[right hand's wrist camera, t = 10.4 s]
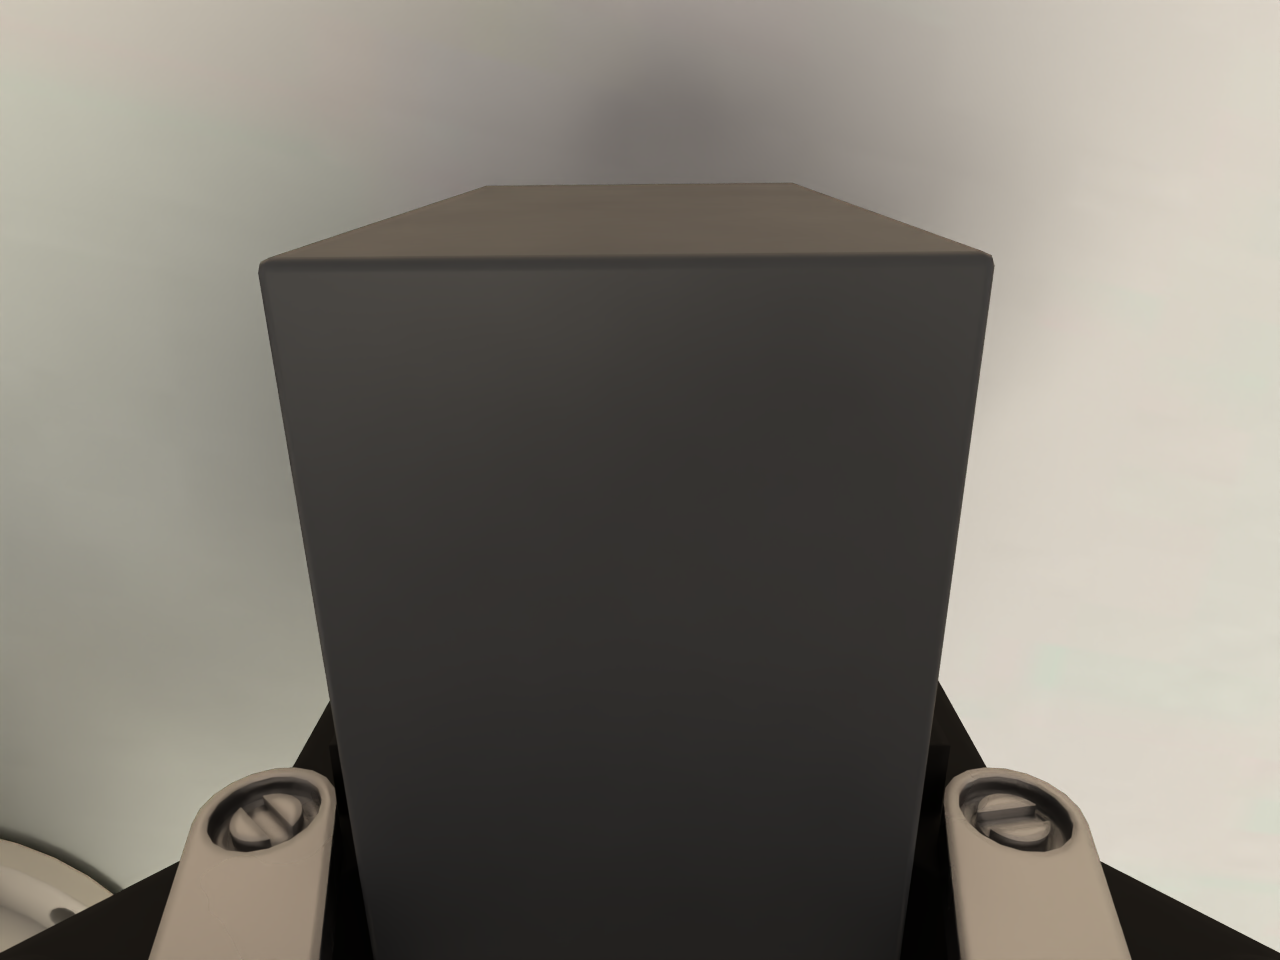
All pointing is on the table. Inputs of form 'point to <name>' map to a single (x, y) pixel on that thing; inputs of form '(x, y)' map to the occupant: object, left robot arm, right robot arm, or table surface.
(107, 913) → the right robot arm
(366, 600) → the post
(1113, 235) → the table surface
